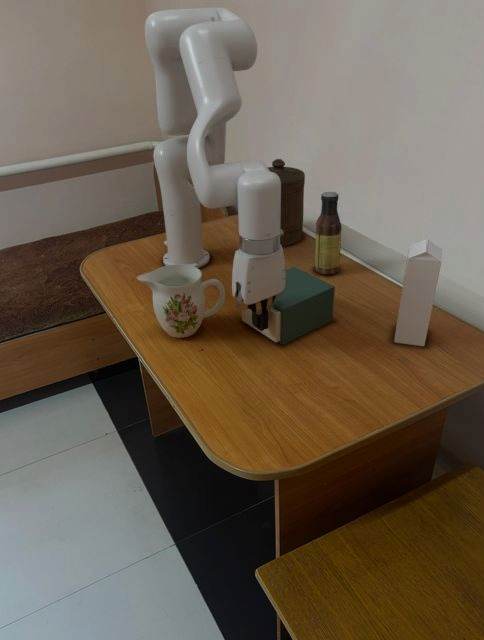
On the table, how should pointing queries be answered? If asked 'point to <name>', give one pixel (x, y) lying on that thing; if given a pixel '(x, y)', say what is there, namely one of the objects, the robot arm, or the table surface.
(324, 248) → the sauce bottle
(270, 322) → the drawer
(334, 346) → the table surface
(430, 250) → the milk
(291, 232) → the wooden container
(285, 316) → the cabinet
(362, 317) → the table surface
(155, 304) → the pitcher
